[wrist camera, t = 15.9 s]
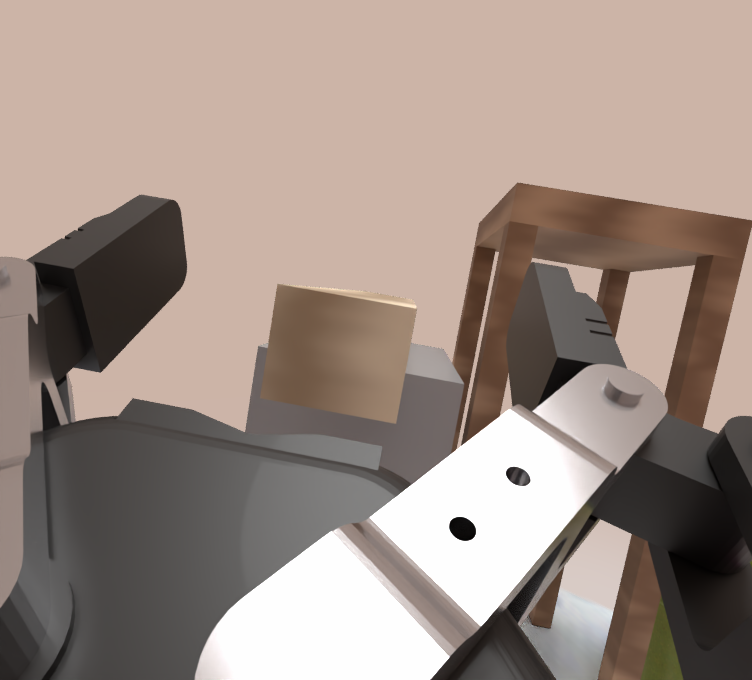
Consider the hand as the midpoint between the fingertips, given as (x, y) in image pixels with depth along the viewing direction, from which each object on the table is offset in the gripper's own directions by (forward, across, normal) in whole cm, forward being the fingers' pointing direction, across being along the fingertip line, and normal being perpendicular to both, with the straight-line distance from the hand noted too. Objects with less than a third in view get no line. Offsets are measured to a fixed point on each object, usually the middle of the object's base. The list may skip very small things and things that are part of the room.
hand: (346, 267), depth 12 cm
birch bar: (+10, 0, +10) cm, 14 cm away
